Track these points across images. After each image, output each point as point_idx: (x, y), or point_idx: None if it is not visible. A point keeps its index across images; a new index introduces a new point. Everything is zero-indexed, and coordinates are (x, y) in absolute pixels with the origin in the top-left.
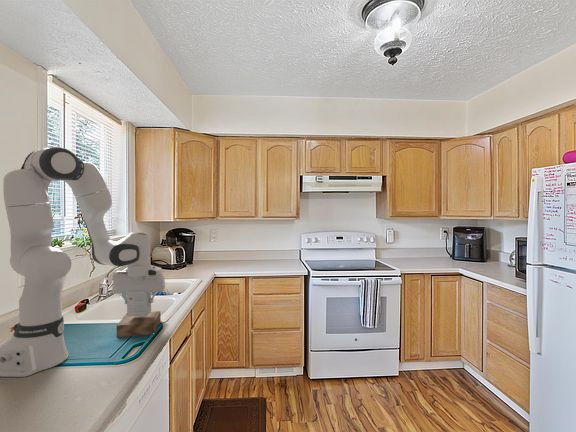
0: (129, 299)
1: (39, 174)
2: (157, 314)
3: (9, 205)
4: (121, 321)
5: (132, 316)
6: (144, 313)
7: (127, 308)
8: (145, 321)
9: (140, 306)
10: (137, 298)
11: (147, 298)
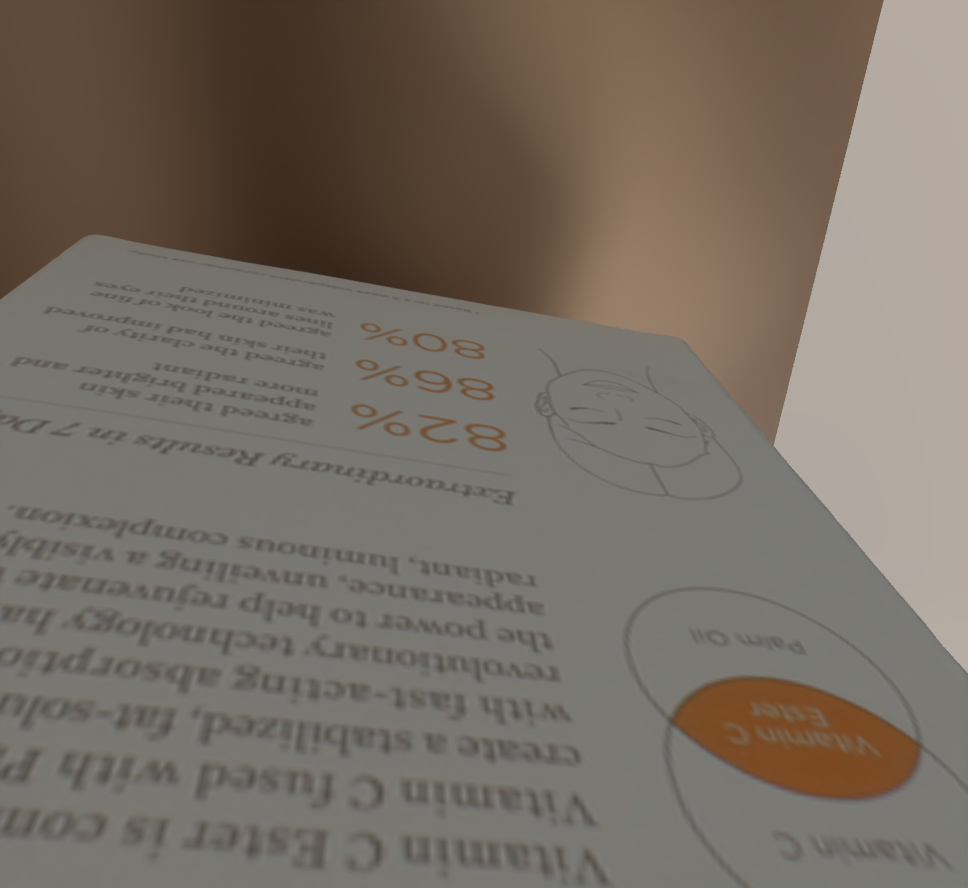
0: (858, 695)
1: None
2: None
3: None
4: (778, 274)
5: None
6: (129, 258)
7: (758, 439)
8: (127, 96)
9: (224, 391)
10: (334, 694)
11: None
